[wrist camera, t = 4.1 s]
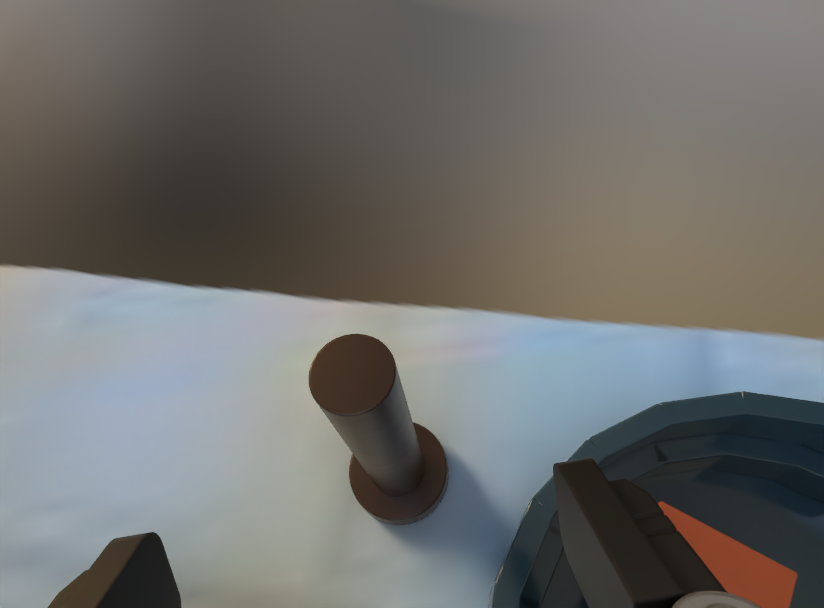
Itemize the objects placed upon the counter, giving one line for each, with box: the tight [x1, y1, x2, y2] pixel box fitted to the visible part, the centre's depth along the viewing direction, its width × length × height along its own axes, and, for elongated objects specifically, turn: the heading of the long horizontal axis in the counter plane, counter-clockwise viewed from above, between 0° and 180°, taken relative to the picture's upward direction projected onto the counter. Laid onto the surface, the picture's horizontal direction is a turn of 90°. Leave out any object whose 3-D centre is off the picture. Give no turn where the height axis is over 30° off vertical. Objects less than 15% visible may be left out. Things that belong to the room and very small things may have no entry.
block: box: [657, 501, 798, 608], centre depth 17 cm, size 4×4×4 cm
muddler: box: [309, 334, 448, 525], centre depth 18 cm, size 4×4×11 cm
